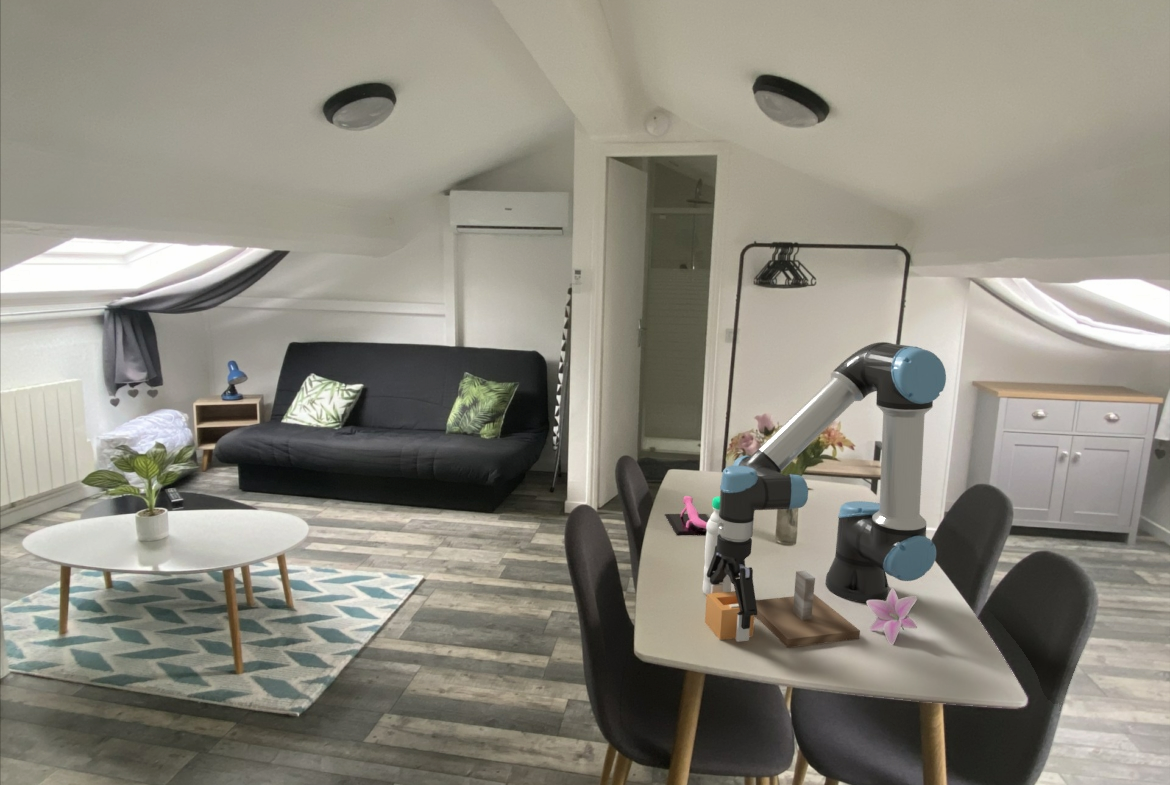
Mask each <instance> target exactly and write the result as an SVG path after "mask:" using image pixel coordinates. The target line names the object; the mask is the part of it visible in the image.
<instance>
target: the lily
mask: <svg viewBox="0 0 1170 785" xmlns="http://www.w3.org/2000/svg"><path fill="white" fill-rule="evenodd" d="M917 601H918V596H916V595H910V596H906V597H902V598H899V597H898V595H897V592H896V591H895V588H893V587H892V588H891V589H890V590H889V591H888V597H887V598H886V599H885V600H867V601H866V602H865V603H866V605H867V606H868V609H869V610H870V611H871V612H872V613H873V614H874V615H875V616H876V619H875V620H874V621H873V622H872V624H871V626H870V627H869V631H872V632H873V631H880V630H883V633H884V636H885V638H886V639H887V641H888V643H889V645H891V646H893V645H894V644H895V642H896V640H897V638H898V634H899V633H900V630H901V628H902V630H903V631H904V630H905V629H918V625H917V624H916V623H915V621H914V620H913V619H912V618H911V617H910V615H908V614H909V612H910V611H911V609H912V607H913V606H914V605H915V603H916V602H917Z"/></svg>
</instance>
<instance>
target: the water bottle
mask: <svg viewBox="0 0 1170 785" xmlns="http://www.w3.org/2000/svg"><path fill="white" fill-rule="evenodd" d="M711 505H712V509H713V512H712V513H711V515H710V516H709V517H710V519H709V520H708V522H707V525H706V529H707V534H706V535H705V544H704V545H705V546H704V567H703V581H702V592H703V594H704V595H705V596H707V594H711V583H710V577H709V578H708V577H707V572H708V569H709V566H710V564H711V561H712V558H713V555H714V551H715V546H717V536H718V535H719V533H718V526H717V523H719V512H720V496H715V497H713V498H712V503H711ZM714 572H715V571H714ZM719 584H723V592H731V591H732V583H731V580H730V577H729V576H728V575H726V577H725V578H724V579H723V582H722V583H719Z"/></svg>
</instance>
